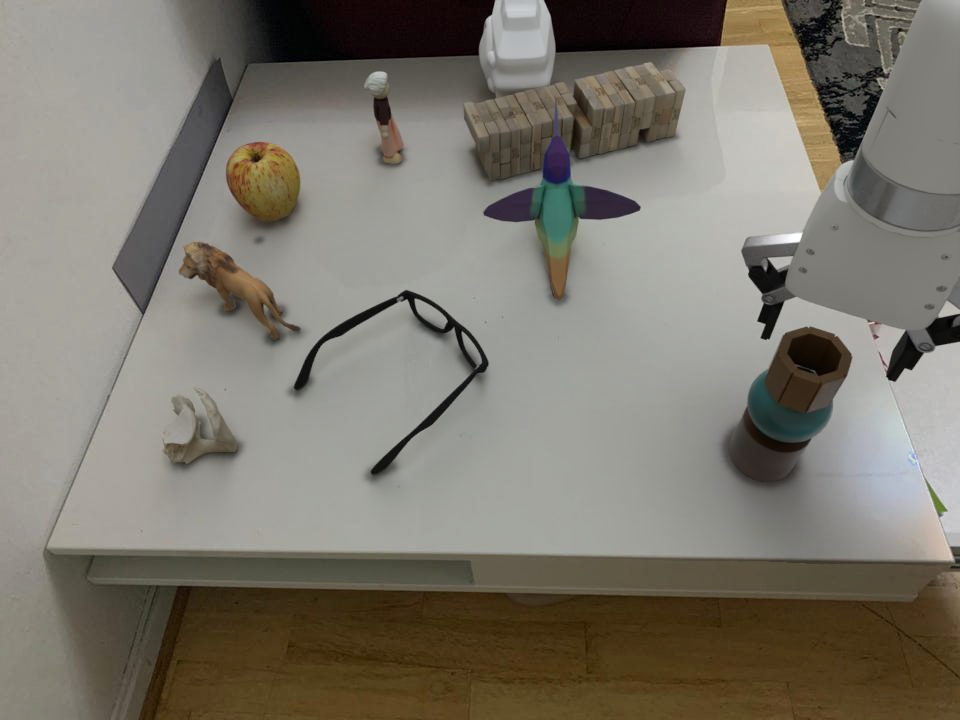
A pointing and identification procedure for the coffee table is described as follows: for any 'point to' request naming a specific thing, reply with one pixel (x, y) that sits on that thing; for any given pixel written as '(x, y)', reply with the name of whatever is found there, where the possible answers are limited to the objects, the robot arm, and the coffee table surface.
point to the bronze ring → (814, 354)
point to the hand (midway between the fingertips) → (829, 346)
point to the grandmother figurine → (385, 117)
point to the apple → (263, 180)
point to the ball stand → (773, 434)
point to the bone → (195, 431)
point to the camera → (517, 47)
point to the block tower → (575, 118)
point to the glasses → (449, 326)
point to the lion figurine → (232, 283)
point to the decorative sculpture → (559, 209)
